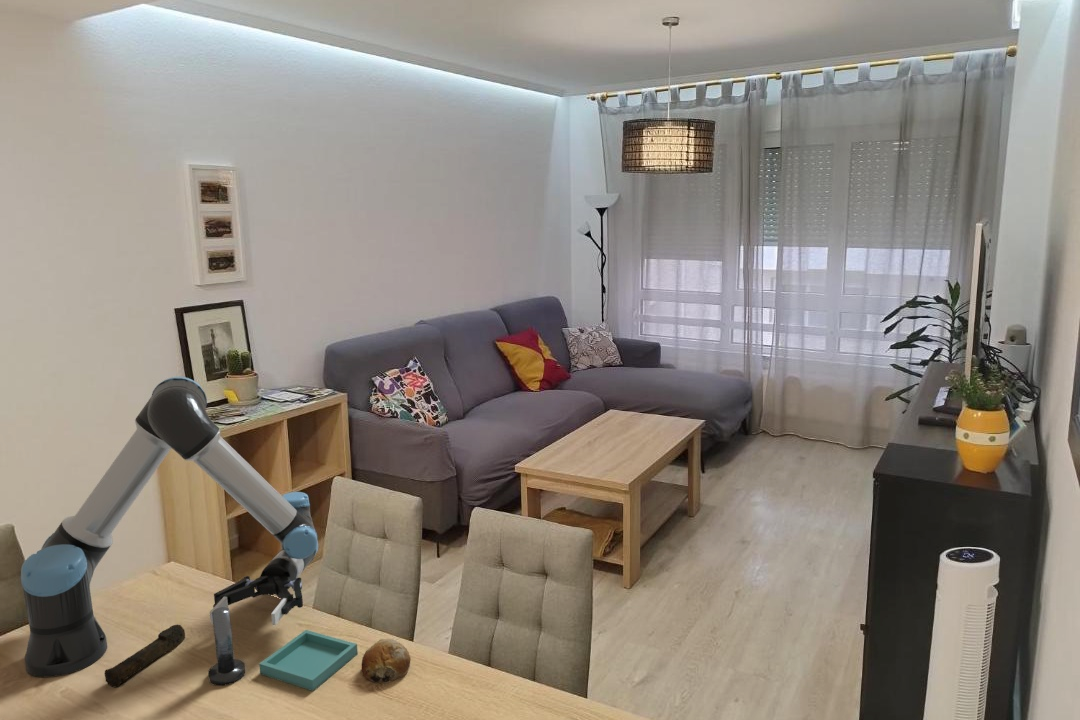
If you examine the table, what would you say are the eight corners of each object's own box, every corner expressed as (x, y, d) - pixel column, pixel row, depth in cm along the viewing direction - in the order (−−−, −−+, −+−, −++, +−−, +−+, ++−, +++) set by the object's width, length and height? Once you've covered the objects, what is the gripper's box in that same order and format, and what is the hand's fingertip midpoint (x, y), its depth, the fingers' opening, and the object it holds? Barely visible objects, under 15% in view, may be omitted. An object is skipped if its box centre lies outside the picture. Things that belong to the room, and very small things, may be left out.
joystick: (201, 680, 158) (193, 615, 155) (227, 662, 165) (221, 599, 162) (226, 689, 156) (219, 623, 153) (252, 670, 162) (246, 606, 159)
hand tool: (118, 690, 156) (115, 669, 155) (104, 685, 158) (101, 665, 157) (194, 642, 173) (192, 623, 172) (181, 638, 174) (178, 619, 174)
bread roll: (415, 684, 162) (424, 645, 164) (384, 690, 153) (394, 648, 155) (379, 670, 167) (388, 632, 169) (347, 675, 158) (357, 634, 160)
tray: (260, 674, 160) (259, 663, 160) (306, 639, 173) (305, 629, 172) (313, 691, 155) (312, 680, 154) (357, 654, 167) (356, 643, 166)
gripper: (334, 587, 186) (300, 636, 166) (233, 584, 188) (188, 632, 167) (331, 558, 185) (298, 604, 164) (230, 556, 187) (184, 601, 166)
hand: (242, 618), depth 166 cm, fingers open, 13 cm apart
